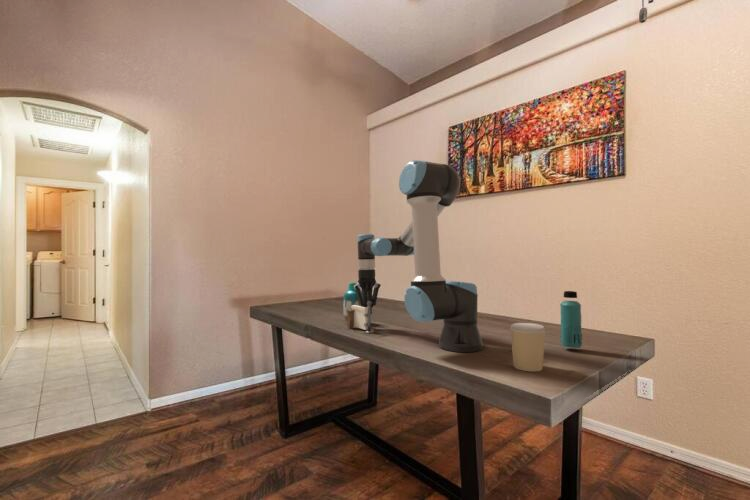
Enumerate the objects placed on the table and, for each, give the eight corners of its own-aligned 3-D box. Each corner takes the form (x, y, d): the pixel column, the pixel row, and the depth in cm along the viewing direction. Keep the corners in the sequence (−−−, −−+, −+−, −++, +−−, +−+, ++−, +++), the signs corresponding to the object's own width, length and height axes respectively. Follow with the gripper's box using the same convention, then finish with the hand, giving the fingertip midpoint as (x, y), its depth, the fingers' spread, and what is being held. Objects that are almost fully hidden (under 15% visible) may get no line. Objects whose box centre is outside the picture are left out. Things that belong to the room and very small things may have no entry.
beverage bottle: (574, 353, 119) (573, 292, 119) (555, 348, 125) (555, 290, 125) (586, 351, 122) (585, 291, 122) (568, 346, 128) (567, 289, 128)
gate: (369, 329, 153) (369, 308, 153) (366, 330, 152) (366, 308, 152) (354, 325, 163) (354, 304, 163) (351, 325, 162) (351, 305, 162)
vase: (339, 324, 169) (339, 283, 170) (349, 320, 179) (349, 281, 179) (360, 326, 165) (359, 284, 166) (369, 322, 175) (368, 282, 175)
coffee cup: (534, 361, 110) (533, 322, 110) (552, 371, 101) (552, 328, 101) (504, 363, 109) (504, 323, 109) (521, 373, 99) (520, 329, 100)
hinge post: (375, 332, 151) (375, 301, 151) (367, 333, 149) (367, 301, 149) (370, 331, 154) (370, 300, 154) (363, 332, 152) (363, 300, 152)
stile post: (354, 328, 160) (354, 310, 160) (349, 329, 159) (349, 310, 159) (351, 327, 162) (351, 309, 162) (346, 328, 161) (346, 309, 161)
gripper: (375, 268, 167) (376, 319, 167) (350, 269, 161) (351, 322, 161) (383, 268, 160) (384, 321, 160) (357, 269, 154) (358, 325, 154)
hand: (367, 321), depth 161 cm, fingers closed
